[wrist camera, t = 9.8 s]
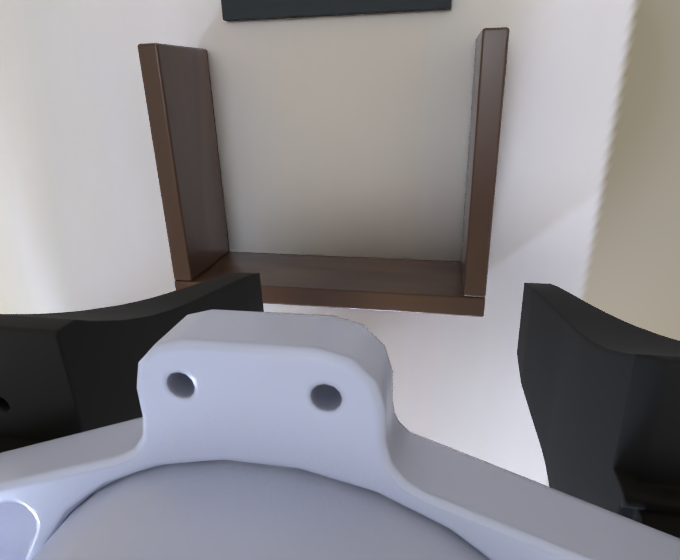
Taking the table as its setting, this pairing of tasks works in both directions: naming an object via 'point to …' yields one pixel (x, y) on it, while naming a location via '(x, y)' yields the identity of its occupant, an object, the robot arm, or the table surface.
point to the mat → (321, 8)
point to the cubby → (307, 270)
